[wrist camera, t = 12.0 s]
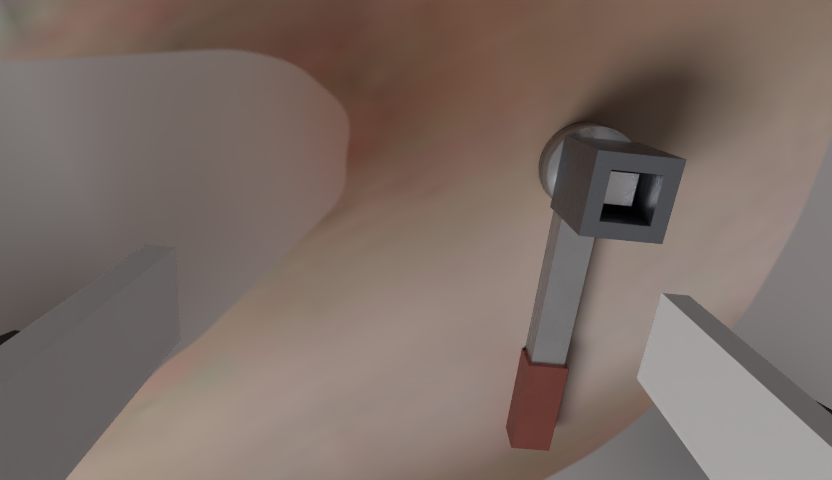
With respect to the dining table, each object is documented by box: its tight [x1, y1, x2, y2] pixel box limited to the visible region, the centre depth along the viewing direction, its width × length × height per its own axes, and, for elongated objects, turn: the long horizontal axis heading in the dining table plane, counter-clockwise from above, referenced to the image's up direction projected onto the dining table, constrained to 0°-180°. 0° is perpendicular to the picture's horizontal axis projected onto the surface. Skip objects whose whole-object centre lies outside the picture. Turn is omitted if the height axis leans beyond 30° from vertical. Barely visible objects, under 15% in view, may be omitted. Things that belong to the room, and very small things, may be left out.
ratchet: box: [506, 122, 640, 451], centre depth 42 cm, size 30×7×8 cm, turn 174°
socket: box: [550, 135, 686, 244], centre depth 35 cm, size 6×6×7 cm
